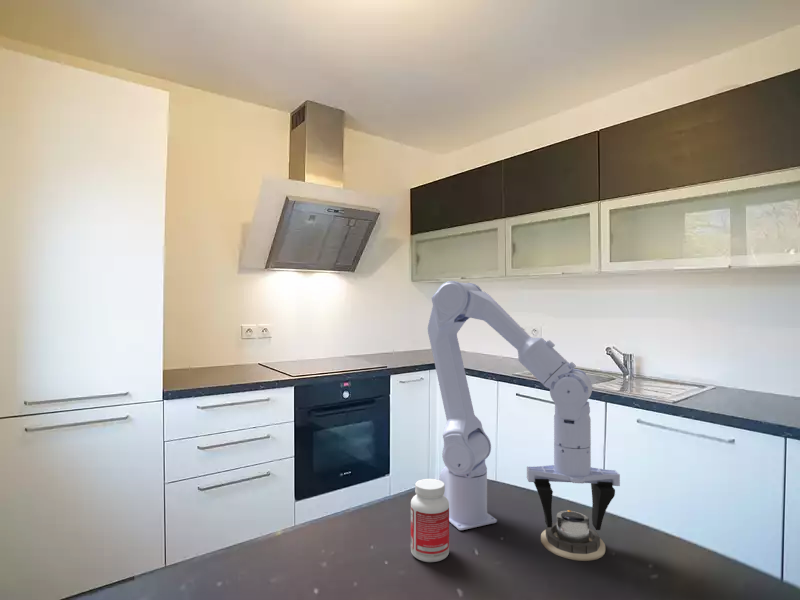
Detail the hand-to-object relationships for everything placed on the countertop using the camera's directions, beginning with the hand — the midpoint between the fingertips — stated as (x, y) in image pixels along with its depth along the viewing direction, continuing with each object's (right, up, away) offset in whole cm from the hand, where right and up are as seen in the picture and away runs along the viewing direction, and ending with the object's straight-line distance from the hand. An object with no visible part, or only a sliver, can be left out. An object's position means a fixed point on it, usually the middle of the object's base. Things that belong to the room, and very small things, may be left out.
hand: (572, 526), depth 76 cm
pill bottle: (-24, -3, -3) cm, 24 cm away
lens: (0, -2, 0) cm, 2 cm away
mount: (0, -3, 0) cm, 3 cm away
